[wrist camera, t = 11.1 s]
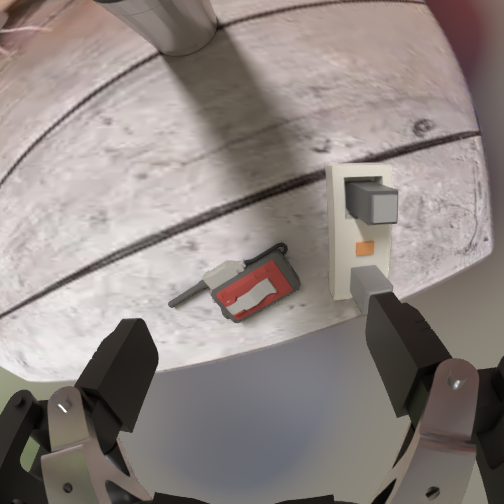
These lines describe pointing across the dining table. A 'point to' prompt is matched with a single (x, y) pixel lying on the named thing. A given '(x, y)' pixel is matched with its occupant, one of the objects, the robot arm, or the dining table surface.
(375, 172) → the power strip
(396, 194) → the plug
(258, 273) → the walkie-talkie
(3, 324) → the dining table surface
